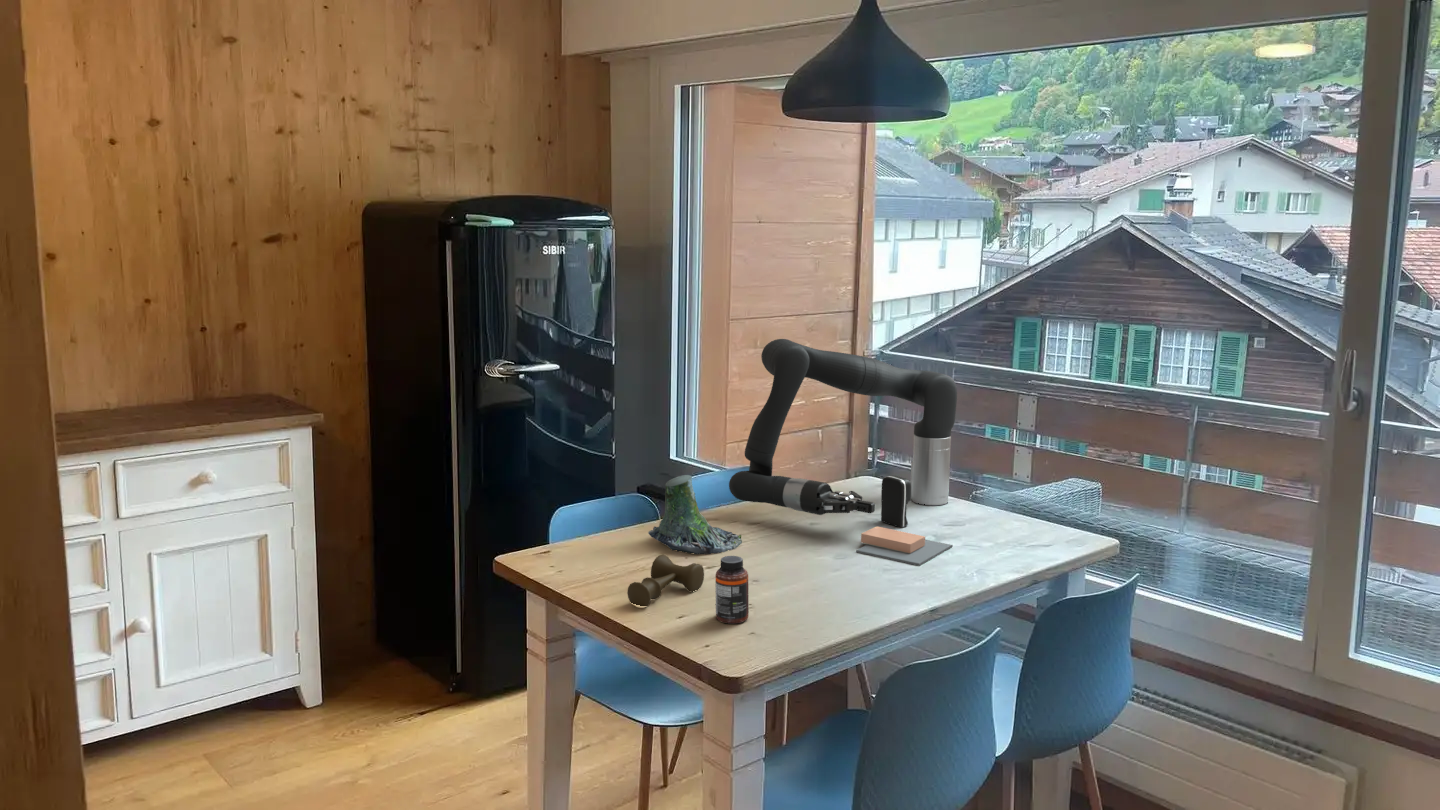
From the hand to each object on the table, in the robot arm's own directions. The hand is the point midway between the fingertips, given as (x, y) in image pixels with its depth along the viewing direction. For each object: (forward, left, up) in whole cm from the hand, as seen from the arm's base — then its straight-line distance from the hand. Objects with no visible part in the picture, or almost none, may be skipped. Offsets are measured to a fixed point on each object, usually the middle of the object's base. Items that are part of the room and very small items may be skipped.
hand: (873, 508), depth 233 cm
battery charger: (-11, +13, -8) cm, 19 cm away
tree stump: (-15, -36, -8) cm, 40 cm away
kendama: (+12, -53, -9) cm, 55 cm away
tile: (-1, 0, -6) cm, 6 cm away
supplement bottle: (+29, -47, -8) cm, 56 cm away
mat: (+7, +4, -8) cm, 11 cm away
